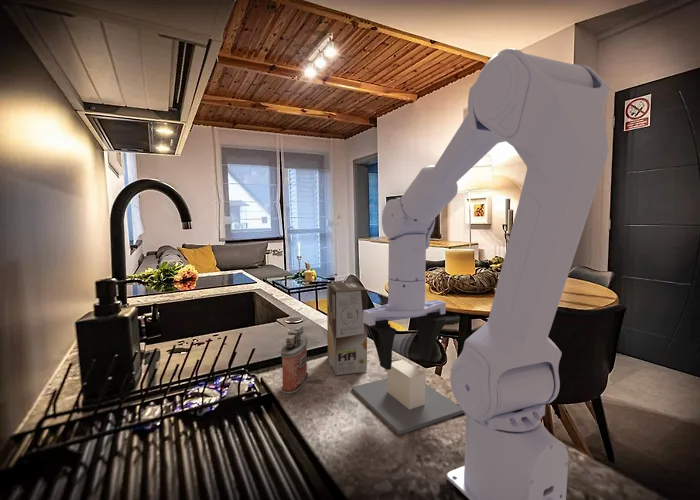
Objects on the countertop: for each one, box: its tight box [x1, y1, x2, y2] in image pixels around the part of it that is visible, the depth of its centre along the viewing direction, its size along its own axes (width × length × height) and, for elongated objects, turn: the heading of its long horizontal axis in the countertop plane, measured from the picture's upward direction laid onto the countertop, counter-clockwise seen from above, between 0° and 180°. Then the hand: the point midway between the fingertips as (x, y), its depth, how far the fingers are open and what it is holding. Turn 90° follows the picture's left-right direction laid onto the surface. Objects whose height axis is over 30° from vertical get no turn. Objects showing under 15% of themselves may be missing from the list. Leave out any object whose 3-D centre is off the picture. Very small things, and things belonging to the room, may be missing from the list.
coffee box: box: [326, 281, 368, 376], centre depth 71 cm, size 9×6×16 cm
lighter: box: [280, 325, 309, 398], centre depth 62 cm, size 8×3×10 cm, turn 168°
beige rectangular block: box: [386, 359, 427, 409], centre depth 57 cm, size 3×6×5 cm, turn 28°
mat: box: [351, 377, 465, 436], centre depth 57 cm, size 14×12×1 cm
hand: (405, 362), depth 57 cm, fingers open, 7 cm apart
